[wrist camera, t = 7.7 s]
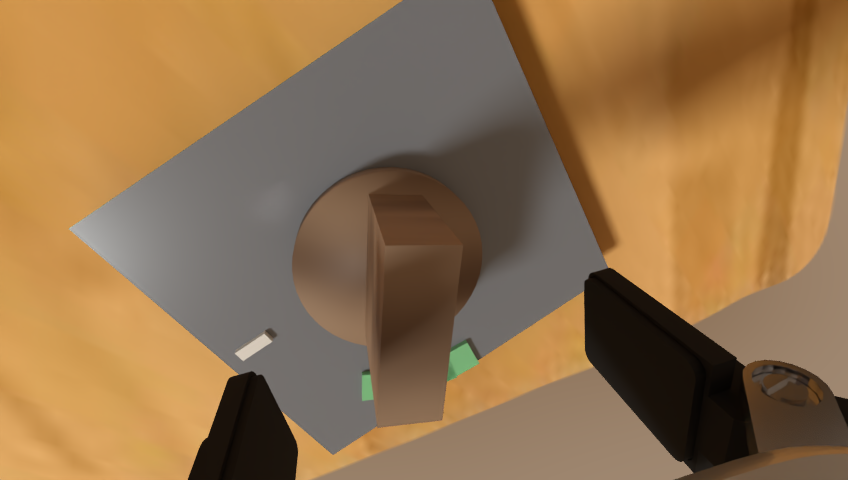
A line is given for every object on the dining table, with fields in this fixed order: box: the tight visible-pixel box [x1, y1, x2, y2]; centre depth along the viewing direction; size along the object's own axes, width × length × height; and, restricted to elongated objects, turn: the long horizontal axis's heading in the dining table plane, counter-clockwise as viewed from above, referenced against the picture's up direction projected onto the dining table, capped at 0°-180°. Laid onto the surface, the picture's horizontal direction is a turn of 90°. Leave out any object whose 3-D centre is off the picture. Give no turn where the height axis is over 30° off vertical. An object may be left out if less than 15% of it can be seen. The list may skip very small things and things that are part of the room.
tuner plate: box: [69, 0, 608, 455], centre depth 20 cm, size 20×18×2 cm
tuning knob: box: [292, 167, 482, 428], centre depth 17 cm, size 13×9×7 cm
